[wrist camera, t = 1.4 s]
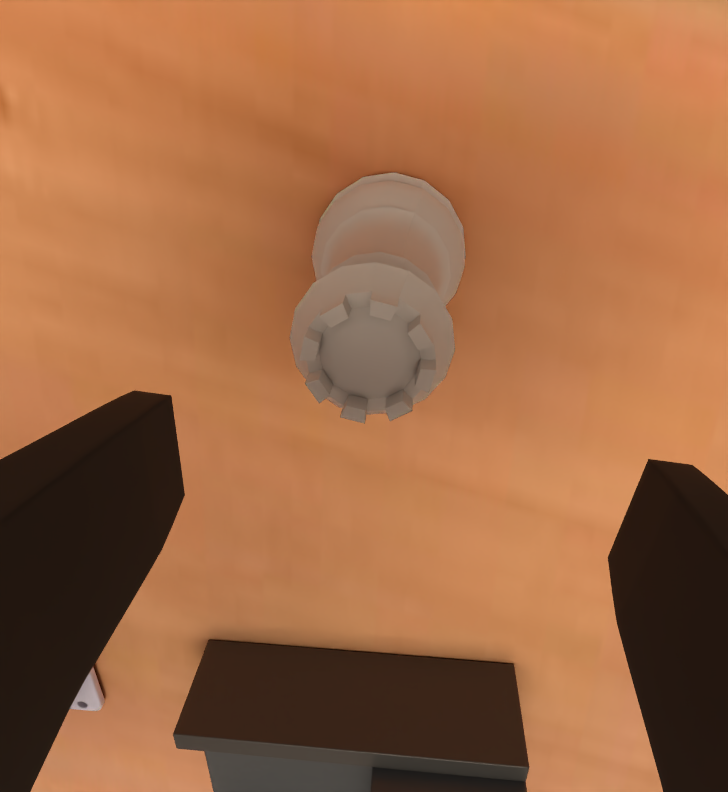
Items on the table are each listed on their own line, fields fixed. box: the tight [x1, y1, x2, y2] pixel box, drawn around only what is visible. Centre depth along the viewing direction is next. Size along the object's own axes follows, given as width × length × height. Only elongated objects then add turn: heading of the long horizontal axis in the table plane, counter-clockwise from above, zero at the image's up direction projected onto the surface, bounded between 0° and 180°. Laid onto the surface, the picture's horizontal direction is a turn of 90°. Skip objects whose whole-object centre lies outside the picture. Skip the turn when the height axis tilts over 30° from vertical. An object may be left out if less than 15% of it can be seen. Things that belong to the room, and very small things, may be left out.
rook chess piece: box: [290, 172, 466, 423], centre depth 14 cm, size 4×4×8 cm
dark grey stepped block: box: [173, 640, 529, 792], centre depth 27 cm, size 14×12×6 cm
